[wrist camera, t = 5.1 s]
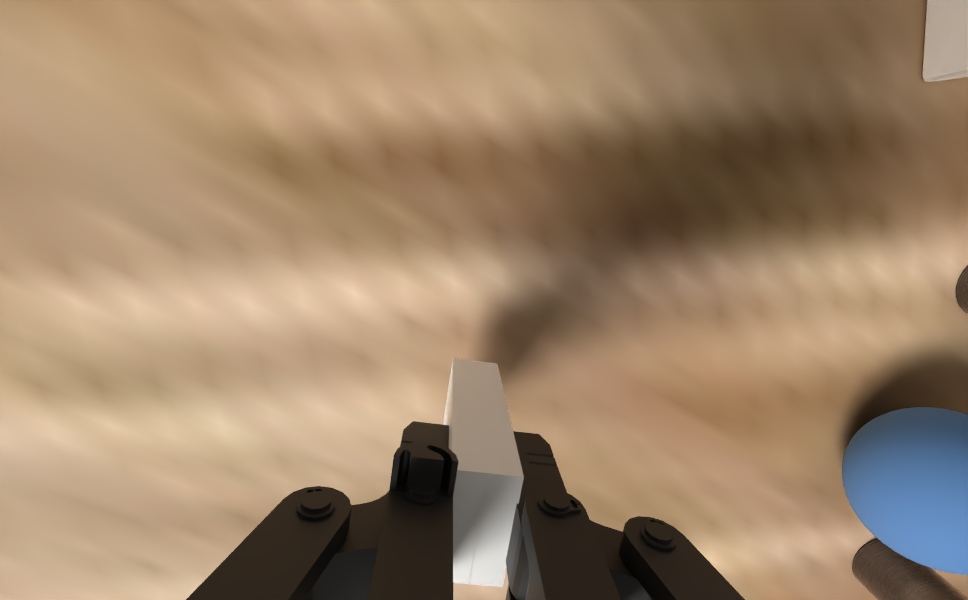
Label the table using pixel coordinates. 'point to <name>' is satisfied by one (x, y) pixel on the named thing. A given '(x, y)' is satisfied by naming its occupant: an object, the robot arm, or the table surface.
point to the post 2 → (963, 291)
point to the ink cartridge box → (946, 40)
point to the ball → (913, 484)
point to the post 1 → (899, 576)
